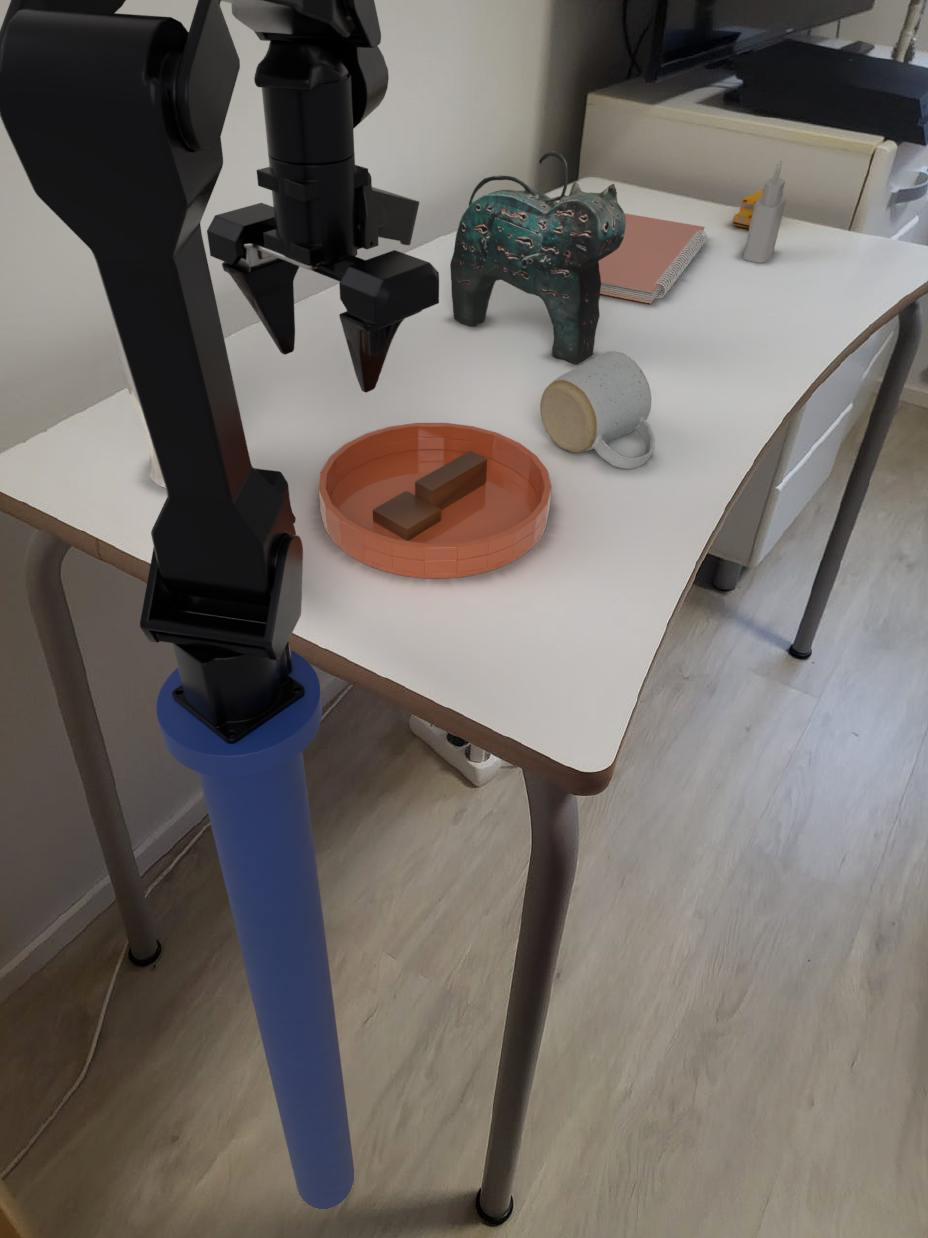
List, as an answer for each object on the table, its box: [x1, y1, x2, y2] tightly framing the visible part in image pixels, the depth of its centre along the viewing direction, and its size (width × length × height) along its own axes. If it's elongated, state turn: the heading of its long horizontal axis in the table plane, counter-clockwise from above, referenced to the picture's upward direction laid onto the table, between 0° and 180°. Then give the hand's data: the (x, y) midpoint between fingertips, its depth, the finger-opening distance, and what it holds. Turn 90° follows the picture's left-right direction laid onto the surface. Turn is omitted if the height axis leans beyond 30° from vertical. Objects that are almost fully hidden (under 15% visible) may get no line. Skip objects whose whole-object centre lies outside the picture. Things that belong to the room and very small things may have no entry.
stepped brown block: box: [373, 451, 487, 541], centre depth 79 cm, size 4×11×2 cm, turn 139°
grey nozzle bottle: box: [742, 160, 787, 264], centre depth 126 cm, size 3×5×12 cm, turn 150°
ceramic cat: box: [449, 150, 626, 365], centre depth 100 cm, size 20×6×20 cm, turn 51°
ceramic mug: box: [539, 350, 656, 470], centre depth 86 cm, size 11×8×8 cm
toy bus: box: [731, 188, 784, 229], centre depth 140 cm, size 3×10×4 cm, turn 140°
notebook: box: [599, 212, 708, 304], centre depth 126 cm, size 27×17×2 cm, turn 156°
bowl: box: [318, 422, 553, 579], centre depth 79 cm, size 19×19×3 cm
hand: (326, 370), depth 73 cm, fingers open, 9 cm apart
